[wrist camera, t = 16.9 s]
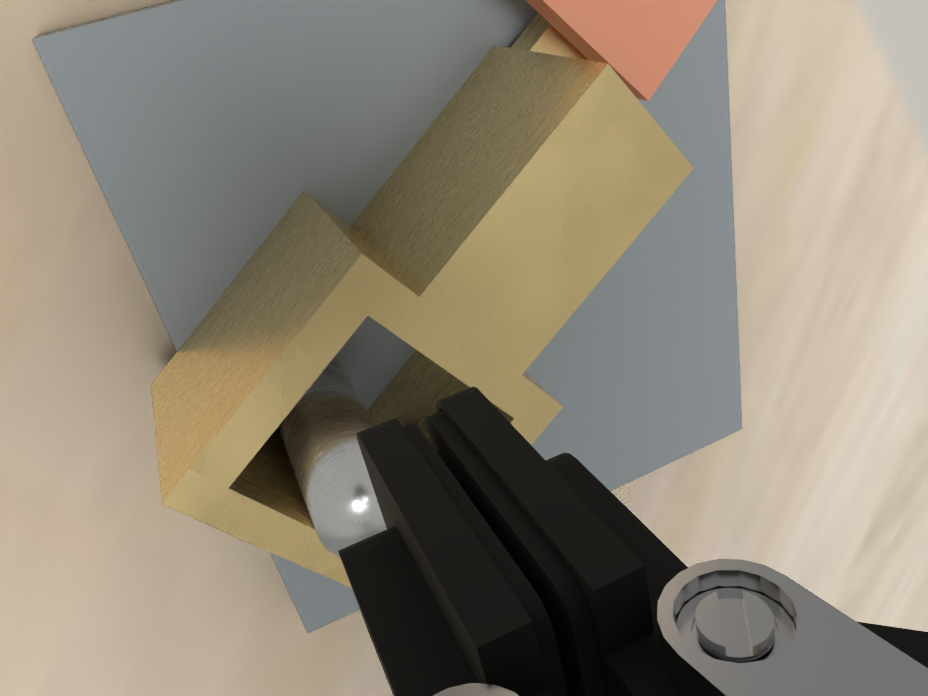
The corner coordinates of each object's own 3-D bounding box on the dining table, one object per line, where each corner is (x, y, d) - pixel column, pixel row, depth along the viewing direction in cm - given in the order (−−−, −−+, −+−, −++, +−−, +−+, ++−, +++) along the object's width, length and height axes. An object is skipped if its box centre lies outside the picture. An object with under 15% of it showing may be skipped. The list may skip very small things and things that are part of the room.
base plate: (718, 411, 33) (741, 428, 32) (299, 605, 29) (307, 633, 28) (686, -132, 23) (719, -138, 22) (37, 35, 19) (31, 39, 18)
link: (340, 484, 26) (394, 607, 21) (151, 384, 22) (161, 504, 17) (686, 63, 24) (834, 84, 19) (548, -122, 21) (688, -156, 16)
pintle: (341, 380, 26) (427, 532, 19) (272, 408, 25) (333, 574, 18) (319, 318, 25) (402, 454, 18) (246, 345, 24) (302, 497, 17)
